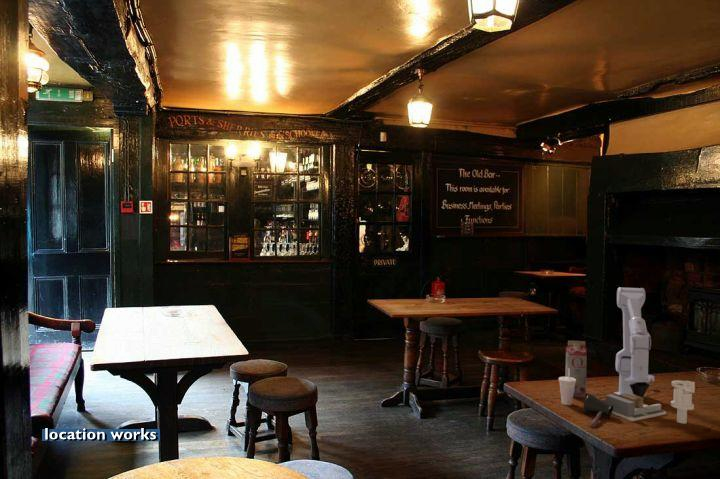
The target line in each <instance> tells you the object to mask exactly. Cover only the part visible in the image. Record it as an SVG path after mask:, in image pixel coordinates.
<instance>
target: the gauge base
mask: <svg viewBox="0 0 720 479" xmlns="http://www.w3.org/2000/svg"><path fill="white" fill-rule="evenodd" d="M604 403H606V404H607V405H613V412H612V415H615V416H618V417H619V418H622V419H625V420H628V421H630V422H635V421H640V420H641V421H642V420H645V419H649V418H655V417H660V416H664V415H666V414H667V411H665V410H662V403H661V404H660V403H655V404H651V405H650V404H649V405H648V404H645V403H643V407H646V408H647V409H644V408H641V407H639V408H635V402H633V401H630V400H627V399H624V398H621V397H620V396H619V395H616V394H614V393H613V394H612V393H610V394H609V393H608V394H605V401H604Z"/></svg>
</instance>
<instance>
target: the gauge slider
mask: <svg viewBox="0 0 720 479" xmlns="http://www.w3.org/2000/svg"><path fill="white" fill-rule="evenodd" d="M619 397H621V398H624V399H627V400H630V401H633V402H635V408H639V407H641V408H644V409H647V408H646V407H643V404H644V397H640V396H637V395H634V394H631V393H625V394H620V396H619Z"/></svg>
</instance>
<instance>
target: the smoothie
mask: <svg viewBox="0 0 720 479" xmlns="http://www.w3.org/2000/svg"><path fill="white" fill-rule="evenodd" d="M558 382H559V391H560V399H561V400H560V402H561V404H562V405H565V406H571V405H572V404H573V400H574V399H573V398H574V397H573V393H574V387H575V383H576V379H574V378H571V377H570V368H568V377H565V376H559V377H558Z"/></svg>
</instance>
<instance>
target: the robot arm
mask: <svg viewBox="0 0 720 479" xmlns="http://www.w3.org/2000/svg"><path fill="white" fill-rule="evenodd" d="M645 301H646V290H645V288H644V287H640V288H639V287H620V286H619V287H618V288H617V290H616V305H617V307H618V309H621V311H622V331H623V332H622V341H623V343H622V346H623V348H622V349H621V350H619V351H618V352H617V353H616V354H615V365H614V367H615V371H616V372H617V373H618V375H619V376H618V377H619V378H618V391H615V392H613V395H615V396H618V397H620V394H625V393H631V394H634V395H637V396H640V397H643V398H645V397H647V395H646V392H647V390H648V389H649V388H650V384H649V383H651V382H655V376H654V375H652V374H649V353H650V352H649V351H650V350H651V347H652V338H651V335H650V333H649V332H648V329H647V325H646V320H645V319H644V318H642V310H641V309H642V307H643V306H644V303H645Z"/></svg>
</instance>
